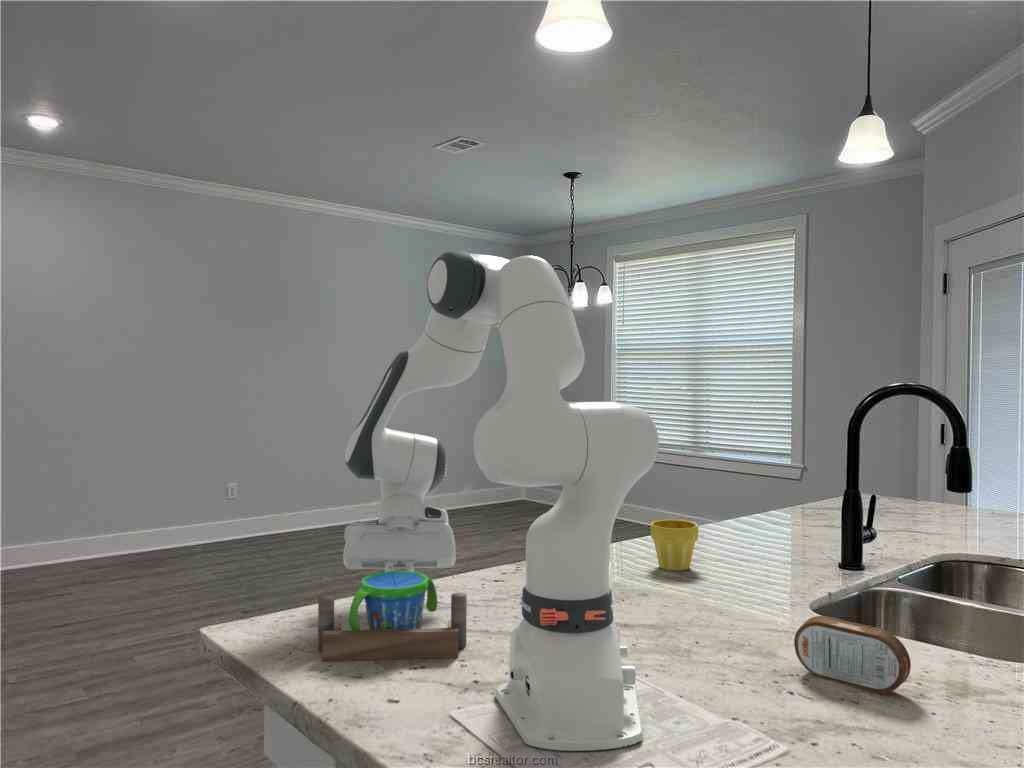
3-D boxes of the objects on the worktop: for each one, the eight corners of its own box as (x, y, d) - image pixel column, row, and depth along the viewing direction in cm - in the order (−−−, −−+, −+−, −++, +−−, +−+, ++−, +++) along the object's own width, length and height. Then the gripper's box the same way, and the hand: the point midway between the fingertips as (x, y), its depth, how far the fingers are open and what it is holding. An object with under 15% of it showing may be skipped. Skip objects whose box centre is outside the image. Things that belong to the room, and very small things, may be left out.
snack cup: (365, 663, 112) (365, 594, 112) (334, 643, 120) (334, 579, 120) (454, 641, 122) (454, 578, 122) (420, 624, 130) (420, 564, 130)
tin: (911, 695, 103) (912, 633, 102) (904, 702, 100) (905, 639, 100) (799, 666, 113) (800, 609, 112) (791, 672, 110) (791, 614, 110)
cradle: (467, 657, 115) (467, 604, 115) (312, 661, 113) (313, 607, 113) (465, 635, 125) (465, 586, 125) (322, 638, 123) (323, 588, 122)
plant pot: (646, 571, 166) (647, 526, 166) (653, 560, 176) (654, 517, 176) (695, 575, 163) (696, 529, 163) (699, 564, 173) (700, 520, 173)
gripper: (344, 512, 141) (336, 579, 131) (455, 511, 143) (456, 576, 133) (347, 531, 145) (340, 597, 136) (454, 530, 147) (455, 595, 138)
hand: (398, 587), depth 135 cm, fingers closed
